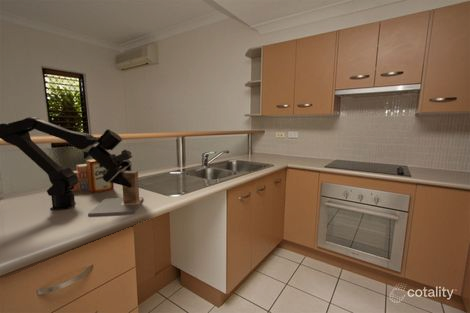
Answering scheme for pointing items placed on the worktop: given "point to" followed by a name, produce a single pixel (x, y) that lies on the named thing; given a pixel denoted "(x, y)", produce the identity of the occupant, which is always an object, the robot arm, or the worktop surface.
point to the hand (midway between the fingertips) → (134, 183)
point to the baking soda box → (97, 177)
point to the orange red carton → (81, 178)
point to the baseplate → (115, 207)
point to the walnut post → (131, 192)
